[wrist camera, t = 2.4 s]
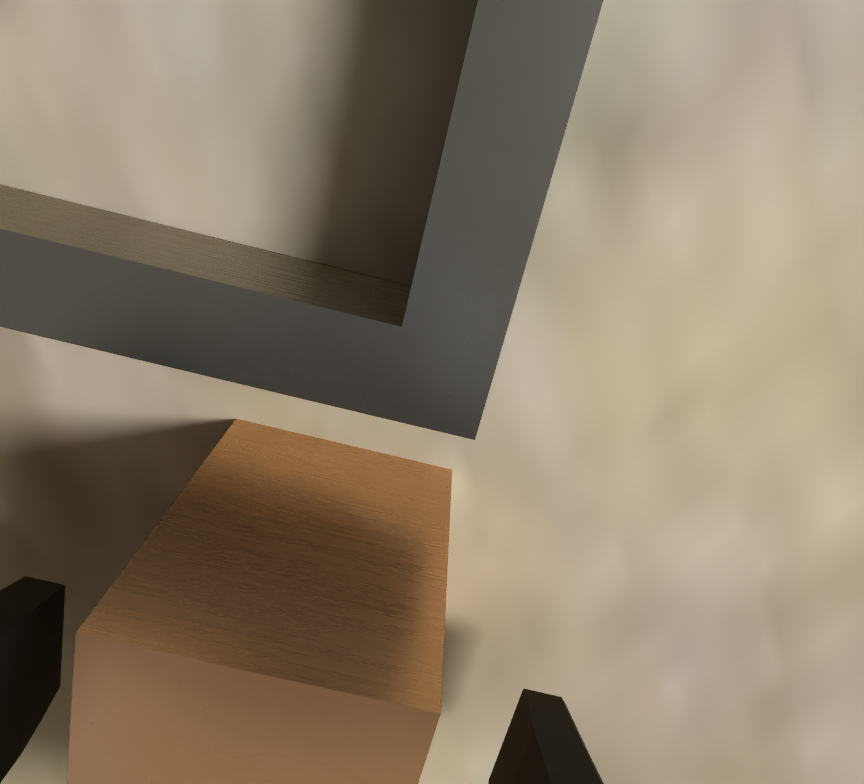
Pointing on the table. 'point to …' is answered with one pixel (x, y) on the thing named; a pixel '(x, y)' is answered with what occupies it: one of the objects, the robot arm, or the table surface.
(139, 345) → the duct collar
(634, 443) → the table surface
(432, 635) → the brown rectangular block
